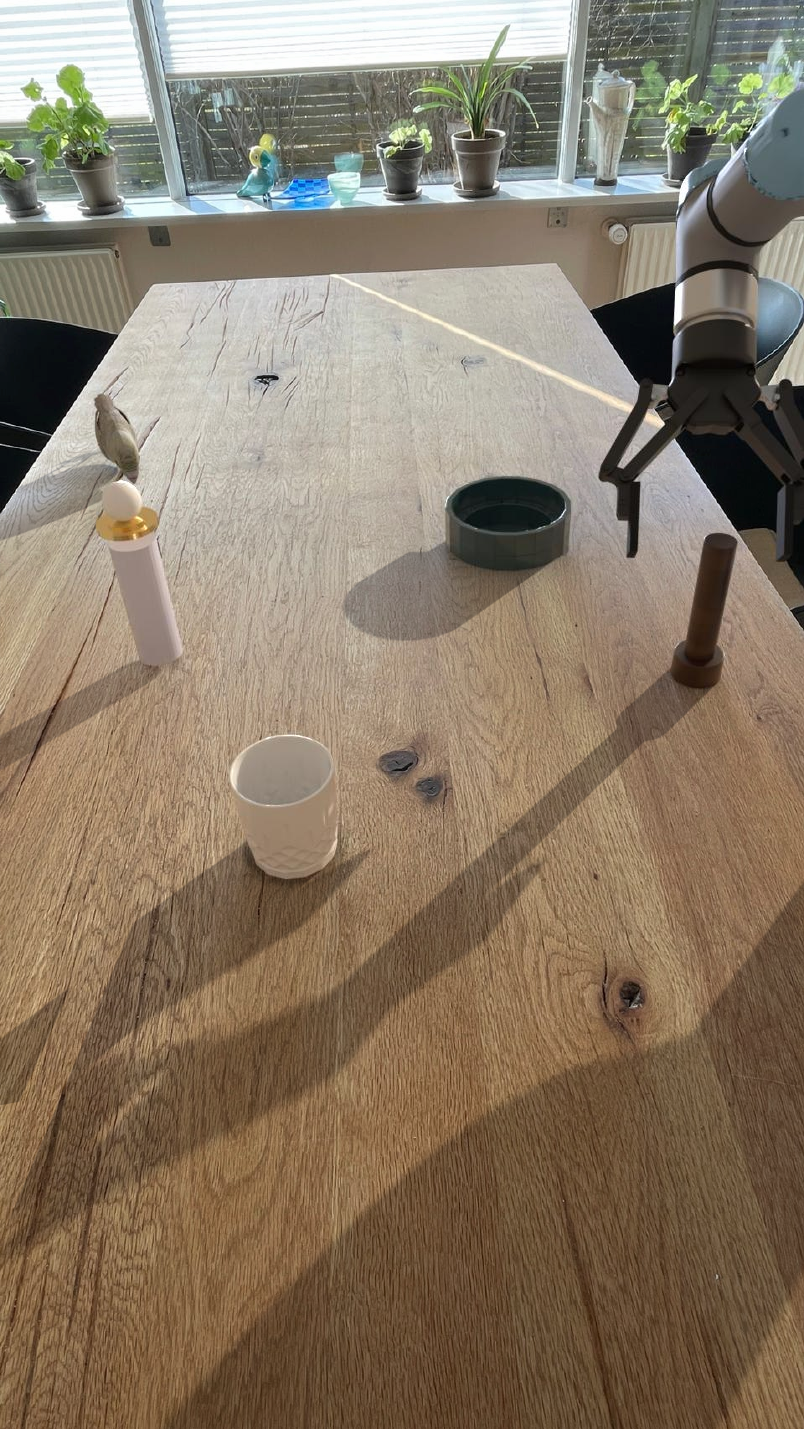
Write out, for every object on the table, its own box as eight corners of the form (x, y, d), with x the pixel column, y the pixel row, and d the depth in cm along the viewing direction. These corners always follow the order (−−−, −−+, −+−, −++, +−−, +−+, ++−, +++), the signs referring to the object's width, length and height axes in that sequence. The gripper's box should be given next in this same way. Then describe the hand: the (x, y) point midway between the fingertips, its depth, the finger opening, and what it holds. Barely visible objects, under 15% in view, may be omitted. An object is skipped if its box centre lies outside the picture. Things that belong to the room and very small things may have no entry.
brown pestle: (714, 672, 94) (744, 528, 83) (720, 701, 90) (752, 554, 80) (666, 670, 94) (690, 526, 84) (670, 699, 91) (696, 553, 80)
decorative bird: (115, 489, 130) (102, 437, 126) (94, 446, 142) (81, 397, 137) (154, 480, 132) (142, 429, 127) (130, 438, 144) (118, 390, 139)
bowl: (567, 521, 118) (570, 476, 114) (568, 583, 107) (571, 536, 103) (451, 519, 120) (451, 475, 116) (441, 580, 109) (440, 533, 105)
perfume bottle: (190, 670, 98) (148, 493, 85) (133, 678, 97) (82, 501, 84) (190, 639, 102) (149, 465, 89) (135, 646, 101) (87, 473, 89)
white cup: (305, 911, 73) (290, 821, 67) (228, 871, 77) (206, 782, 70) (364, 845, 78) (354, 756, 72) (289, 810, 82) (273, 722, 75)
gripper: (840, 353, 91) (835, 569, 90) (577, 353, 94) (568, 562, 93) (868, 313, 84) (864, 549, 82) (582, 315, 87) (572, 542, 85)
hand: (707, 556), depth 87 cm, fingers open, 13 cm apart
